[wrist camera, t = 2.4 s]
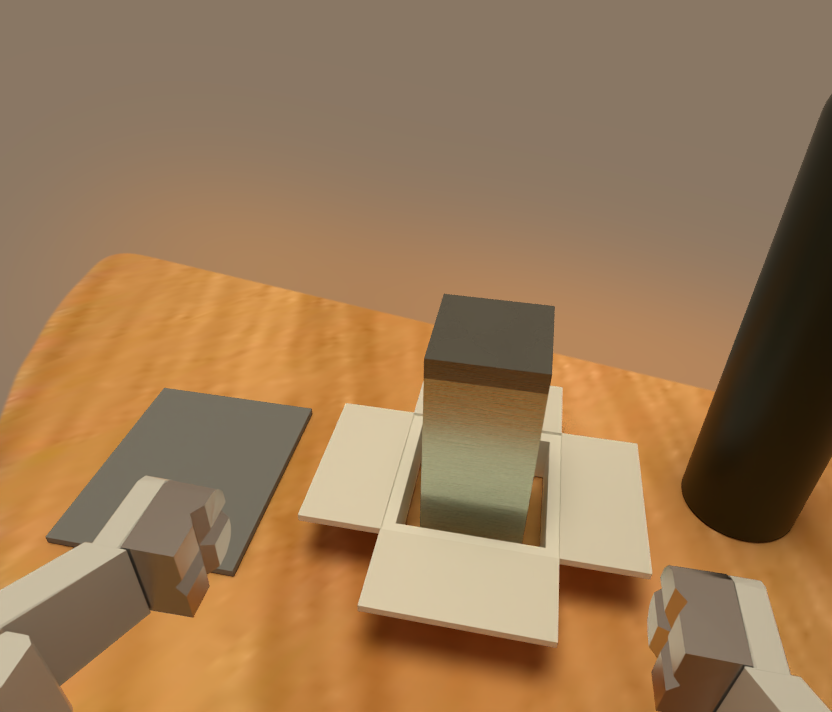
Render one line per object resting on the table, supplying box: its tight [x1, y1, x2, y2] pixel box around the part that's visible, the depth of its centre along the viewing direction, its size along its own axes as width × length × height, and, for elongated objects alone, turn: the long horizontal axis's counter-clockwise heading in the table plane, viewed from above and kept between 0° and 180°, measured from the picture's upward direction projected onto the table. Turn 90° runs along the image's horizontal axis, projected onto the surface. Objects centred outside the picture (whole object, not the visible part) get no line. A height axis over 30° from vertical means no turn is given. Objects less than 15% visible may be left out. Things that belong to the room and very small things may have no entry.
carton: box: [298, 381, 652, 648], centre depth 33 cm, size 16×16×3 cm
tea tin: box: [420, 294, 555, 544], centre depth 31 cm, size 5×5×12 cm
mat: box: [46, 388, 312, 576], centre depth 36 cm, size 10×12×1 cm
